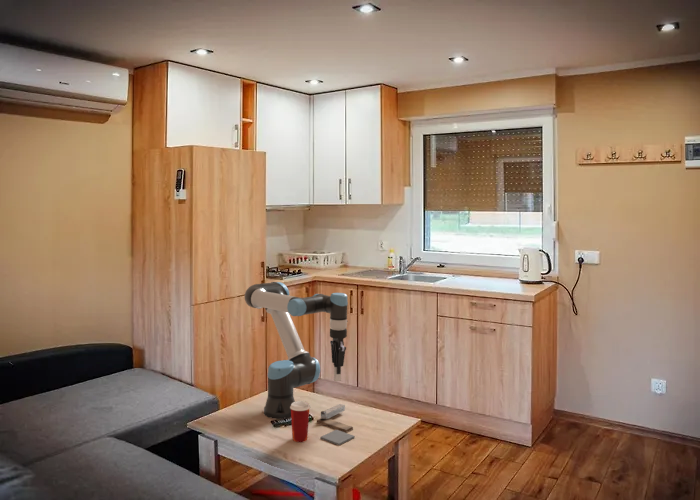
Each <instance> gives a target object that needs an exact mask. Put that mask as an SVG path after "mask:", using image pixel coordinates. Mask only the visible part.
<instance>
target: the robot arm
mask: <svg viewBox="0 0 700 500" xmlns="http://www.w3.org/2000/svg"><path fill="white" fill-rule="evenodd" d="M244 301H245V303H246V305H248V307H250V308H253V309H263V308H264V309H265V312H266V313H267V314H269V315H271V318H272V320H273V323H274V326H275V328H276V330H277V331H276V332H277V333H278V336H279V338H280V341H281V343H282V346H283V348H284V351H285V353H286V355H287V359H283V360H276V361H274V362H272V363H270V365H268V368H267V398H266V401H265V405H264V407H263V414H264V416H265V417H267V418H270V419H279V420H280V419H281V420H283V418H284V419H288V418H289V417H290V418H291V408H290V406H291V404H292V403H293V402H296V401H295V400H296V399H295V397H294V389H295V388H298V387H299V388H300V387H302V386H306V385H310V384H312V383H314V382H317V381H318V380H319V378H320V375H321V374H320V373H321V364H320V362H319V360H318V359H316V357H313V356H311V354H310V352H309V351H306V349H305V348H304V345H303V342H302V341H301V338H300V335H299V334H298V330H297V328H296V326H295V324H294V322H293V319H292V317H301V316H306V315H312V314H318V313H328V314H329V316H330V317H329V338H331V339H332V340H330V348H331V349H330V350H331V363H332V364H333V382H339V381H341V379H342V367H344V363H345V356H346V355H345V354H346V350H347V347H346V346H344V345H345V342H344V340H345V338H347V337H348V331H347V330H348V329H347V328H348V306H349V305H348V303H349V302H348V295H347V294H346V293H344V292H333V293H331V294H330V295H327V294H326V295H325V294H323V293H315V294H314V295H312V296H307V297H306V296H304V297H300V296H295V295H294V296H293V295H290V290H289V288H288V287H287V285H286V284H285V283H283V282H280V281H271V282H265V283H264V282H263V283H255V284H252V285H250V286H248V288H247V289H246V290H245V292H244ZM291 316H292V317H291Z"/></svg>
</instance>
